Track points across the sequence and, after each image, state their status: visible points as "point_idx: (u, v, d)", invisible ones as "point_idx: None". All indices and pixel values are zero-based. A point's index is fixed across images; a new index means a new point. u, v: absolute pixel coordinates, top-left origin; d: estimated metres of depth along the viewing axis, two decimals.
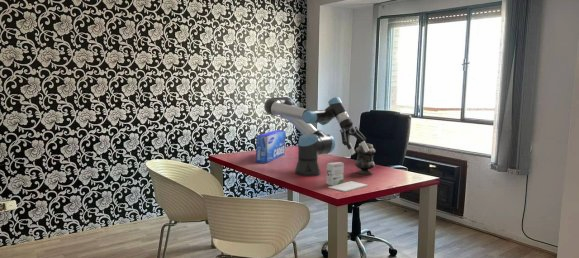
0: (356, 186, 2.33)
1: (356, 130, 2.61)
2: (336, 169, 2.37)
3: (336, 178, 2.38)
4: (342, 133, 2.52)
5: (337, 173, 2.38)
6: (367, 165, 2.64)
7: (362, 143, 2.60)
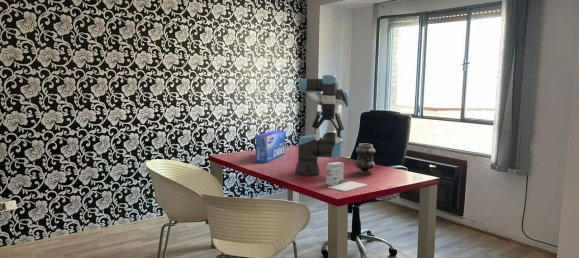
0: (356, 186, 2.33)
1: None
2: (336, 169, 2.37)
3: (336, 178, 2.38)
4: None
5: (337, 173, 2.38)
6: (367, 165, 2.64)
7: None
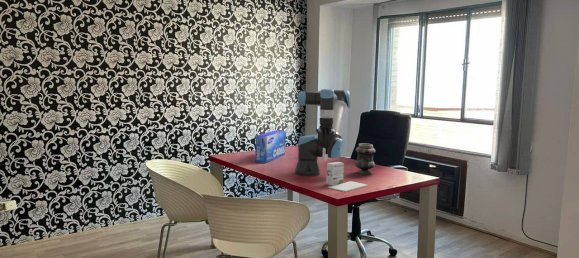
0: (356, 186, 2.33)
1: (331, 133, 2.39)
2: (336, 169, 2.37)
3: (336, 178, 2.38)
4: None
5: (337, 173, 2.38)
6: (367, 165, 2.64)
7: None
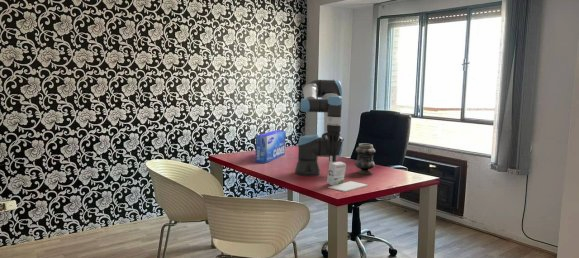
0: (356, 186, 2.33)
1: None
2: (338, 170, 2.36)
3: (337, 178, 2.37)
4: None
5: (338, 174, 2.37)
6: (367, 165, 2.64)
7: None
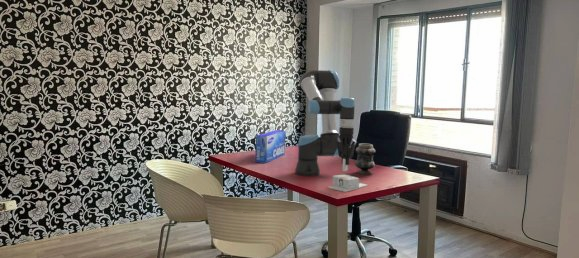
0: None
1: (351, 144, 2.30)
2: None
3: None
4: None
5: None
6: (367, 165, 2.64)
7: None
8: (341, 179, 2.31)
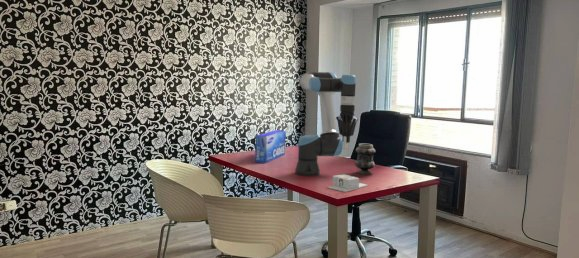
0: None
1: None
2: None
3: None
4: None
5: None
6: (367, 165, 2.64)
7: None
8: (341, 179, 2.31)
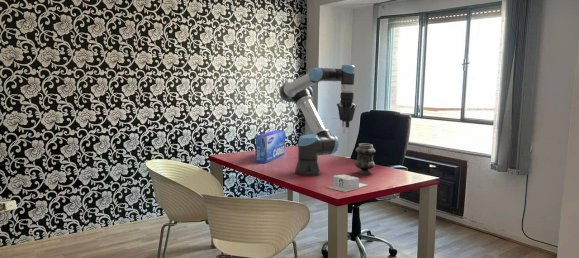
0: None
1: None
2: None
3: None
4: None
5: None
6: (367, 165, 2.64)
7: None
8: (341, 179, 2.31)
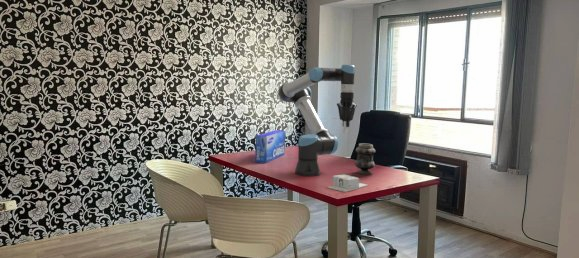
0: None
1: (352, 107, 2.51)
2: None
3: None
4: None
5: None
6: (367, 165, 2.64)
7: None
8: (341, 179, 2.31)
